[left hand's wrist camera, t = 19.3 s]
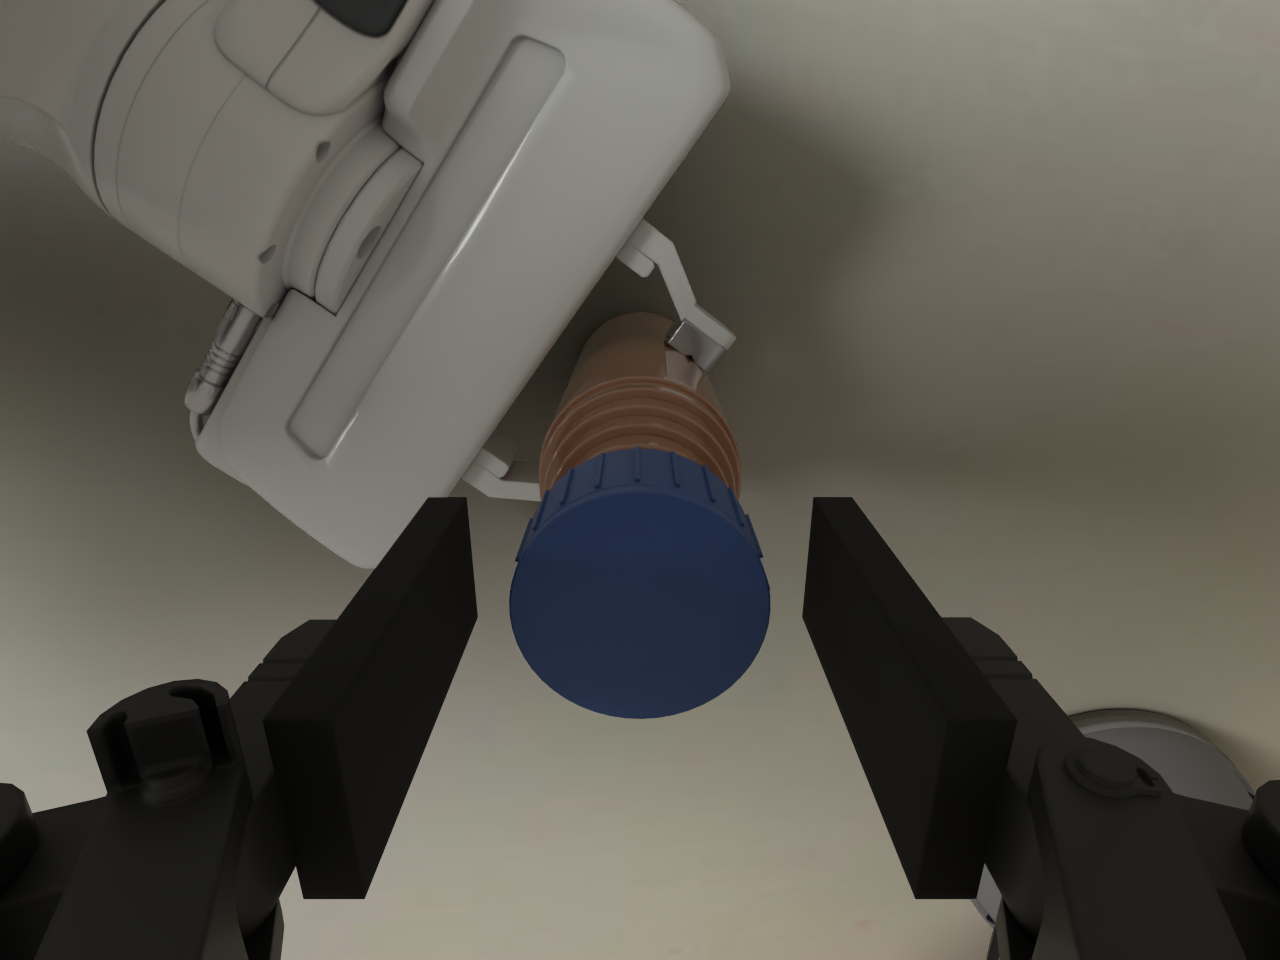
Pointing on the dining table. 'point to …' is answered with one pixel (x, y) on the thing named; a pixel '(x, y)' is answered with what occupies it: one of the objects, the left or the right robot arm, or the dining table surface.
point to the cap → (639, 586)
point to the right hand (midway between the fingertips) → (661, 429)
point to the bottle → (638, 404)
